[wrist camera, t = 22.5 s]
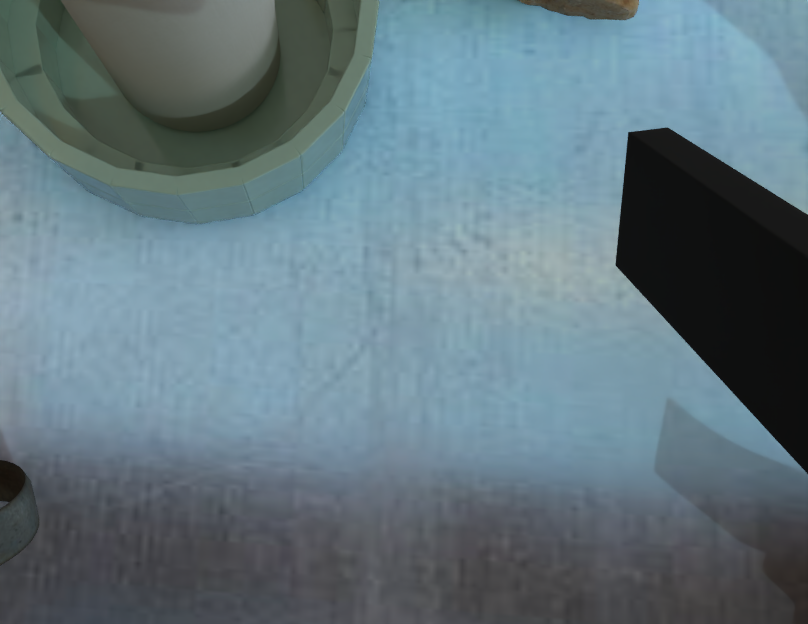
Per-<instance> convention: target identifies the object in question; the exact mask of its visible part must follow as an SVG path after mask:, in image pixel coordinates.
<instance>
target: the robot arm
mask: <svg viewBox="0 0 808 624" xmlns="http://www.w3.org/2000/svg"><path fill="white" fill-rule="evenodd" d="M616 266H617V267H618V268H619V270H620V271H621V272H622V273H623V274H624V275H625V276H626V277H627V278H628V279H629V280H630V282H631V283H632V284H633V285H634V286H635V287H636V288H637V289H638V290H639V291H640V292H641V293H642V295H643V296H644V297H645V298H646V299H647V300H648V301H649V302H650V303H651V304H652V305H653V306H654V308H655V309H656V310H657V311H658V312H659V313H660V314H661V315H662V316H663V317H664V318H665V320H666V321H667V322H668V323H669V324H670V325H671V326H672V327H673V328H674V329H675V330H676V331H677V333H678V334H679V335H680V336H681V337H682V338H683V339H684V340H685V341H686V342H687V343H688V344H689V346H690V347H691V348H692V349H693V350H694V351H695V352H696V353H697V354H698V355H699V356H700V357H701V359H702V360H703V361H704V362H705V363H706V364H707V365H708V366H709V367H710V368H711V369H712V371H713V372H714V373H715V374H716V375H717V376H718V377H719V378H720V379H721V380H722V381H723V382H724V384H725V385H726V386H727V387H728V388H729V389H730V390H731V391H732V392H733V393H734V394H735V395H736V397H737V398H738V399H739V400H740V401H741V402H742V403H743V404H744V405H745V406H746V407H747V409H748V410H749V411H750V412H751V413H752V414H753V415H754V416H755V417H756V418H757V419H758V420H759V422H760V423H761V424H762V425H763V426H764V427H765V428H766V429H767V430H768V431H769V432H770V433H771V435H772V436H773V437H774V438H775V439H776V440H777V441H778V442H779V443H780V444H781V445H782V446H783V448H784V449H785V450H786V451H787V452H788V453H789V454H790V455H791V456H792V457H793V458H794V460H795V461H796V462H797V463H798V464H799V465H800V466H801V467H802V468H803V469H804V470H805V471H806V473H807V474H808V215H807V214H805V213H804V212H802V211H801V210H799V209H797V208H796V207H794V206H793V205H791V204H789V203H788V202H786V201H785V200H783V199H781V198H780V197H778V196H777V195H775V194H773V193H772V192H770V191H769V190H767V189H765V188H764V187H762V186H761V185H759V184H757V183H756V182H754V181H753V180H751V179H749V178H748V177H746V176H745V175H743V174H741V173H740V172H738V171H737V170H735V169H733V168H732V167H730V166H729V165H727V164H725V163H724V162H722V161H721V160H719V159H717V158H716V157H714V156H713V155H711V154H709V153H708V152H706V151H705V150H703V149H701V148H700V147H698V146H697V145H695V144H693V143H692V142H690V141H689V140H687V139H685V138H684V137H682V136H681V135H679V134H677V133H676V132H674V131H673V130H671V129H669V128H660V129H651V130H643V131H635V132H628V142H627V153H626V163H625V173H624V183H623V194H622V204H621V214H620V225H619V235H618V245H617V256H616Z"/></svg>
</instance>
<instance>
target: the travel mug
mask: <svg viewBox="0 0 808 624" xmlns="http://www.w3.org/2000/svg"><path fill="white" fill-rule="evenodd" d="M61 2H62V3H63V5H64V6H65V8H66V9H67V11H68V12H69V14H70V15H71V17H72V18H73V20H74V21H75V23H76V24H77V26H78V27H79V29H80V30H81V32H82V33H83V35H84V36H85V38H86V39H87V41H88V42H89V44H90V45H91V47H92V48H93V50H94V52H95V53H96V55H97V56H98V58H99V59H100V61H101V62H102V64H103V65H104V67H105V68H106V70H107V71H108V73H109V74H110V76H111V77H112V79H113V80H114V82H115V83H116V85H117V86H118V88H119V89H120V91H121V92H122V94H123V95H124V97H125V98H126V99H127V100H128V101H129V103H130V104H131V105H132V106H133V107H134V108H135V109H137V110H138V111H139V112H140V113H141V114H143V115H144V116H146V117H147V118H149V119H151V120H152V121H154V122H156V123H158V124H161V125H163V126H166V127H169V128H172V129H177V130H181V131H190V132H201V131H211V130H216V129H220V128H224V127H226V126H229V125H232V124H234V123H236V122H238V121H240V120H241V119H243V118H245V117H246V116H248V115H249V114H250V113H252V112H253V111H254V110H255V109H256V108H257V107H258V106H259V105H260V104H261V103H262V102H263V101H264V99H265V98H266V97H267V95H268V94H269V92H270V90H271V89H272V87H273V85H274V82H275V80H276V77H277V74H278V70H279V65H280V41H279V33H278V24H277V16H276V8H275V0H61Z"/></svg>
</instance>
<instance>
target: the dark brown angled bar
mask: <svg viewBox="0 0 808 624" xmlns="http://www.w3.org/2000/svg"><path fill="white" fill-rule="evenodd" d="M0 501H7V502H10V503H9V504H7V505H6V506H4V507H3V508H1V509H0V565H2V564H3V563H5V562H7V561H8V560H10V559H11V558H13V557H14V556H16V555H17V554H18V553H19V552H21V551H22V550H23V549H24V548H25V547H26V546H27V545H28V544H29V543H30V542H31V541H32V539H33V538H34V536H35V535H36V533H37V530H38V527H39V515H38V511H37V506H36V501H35V496H34V492H33V488H32V484H31V481H30V479H29V478H28V477H27V475H26V474H25V473H24V471H23V470H22V469H21V468H20V467H19V466H17V465H15V464H14V463H10V462H7V461H2V460H0Z"/></svg>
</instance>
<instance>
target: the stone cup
mask: <svg viewBox="0 0 808 624" xmlns="http://www.w3.org/2000/svg"><path fill="white" fill-rule="evenodd" d="M519 1H520V2H522V3H524V4H527V5H536V6H541V7H543V8H545V9H547V10H550V11H554V12H558V13H561V14H564V15H567V16H584V17H586V18H588V19H609V20H627V19H629V18H632V17H634V15H635V13H636V12H637V9H638V5H639V0H519Z"/></svg>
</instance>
